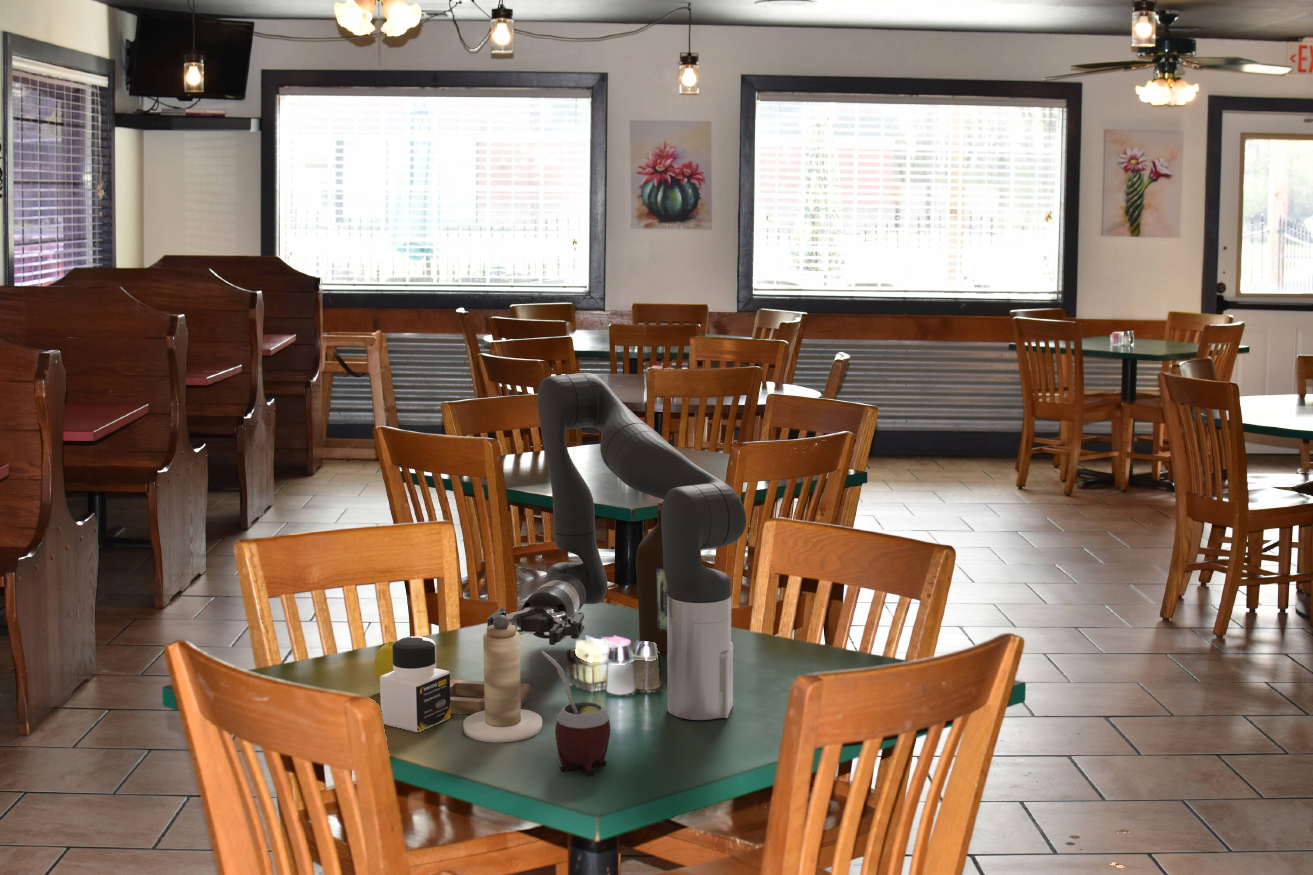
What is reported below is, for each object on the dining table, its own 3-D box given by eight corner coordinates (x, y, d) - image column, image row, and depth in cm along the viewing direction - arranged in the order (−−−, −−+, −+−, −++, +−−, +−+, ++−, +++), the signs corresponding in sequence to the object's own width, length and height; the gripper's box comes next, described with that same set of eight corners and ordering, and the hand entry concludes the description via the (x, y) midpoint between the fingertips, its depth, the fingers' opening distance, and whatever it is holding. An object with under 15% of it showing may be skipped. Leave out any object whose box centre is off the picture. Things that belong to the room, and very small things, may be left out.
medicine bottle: (418, 733, 184) (415, 650, 182) (380, 724, 187) (377, 642, 186) (452, 718, 190) (449, 637, 188) (414, 709, 193) (412, 629, 192)
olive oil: (626, 642, 226) (625, 498, 223) (683, 635, 231) (683, 493, 227) (650, 659, 217) (650, 509, 213) (709, 651, 221) (709, 504, 217)
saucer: (551, 716, 190) (551, 710, 190) (530, 744, 179) (529, 737, 179) (477, 712, 192) (477, 705, 192) (452, 739, 181) (452, 732, 181)
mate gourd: (617, 773, 169) (617, 660, 167) (558, 782, 167) (557, 667, 165) (599, 753, 176) (598, 644, 174) (542, 761, 173) (540, 650, 171)
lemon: (403, 699, 198) (402, 647, 197) (368, 696, 199) (367, 645, 198) (417, 687, 203) (416, 636, 202) (383, 684, 204) (382, 634, 203)
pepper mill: (525, 715, 188) (523, 611, 185) (515, 728, 183) (513, 620, 181) (491, 713, 188) (489, 609, 186) (480, 725, 184) (478, 619, 182)
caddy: (529, 696, 199) (529, 683, 198) (512, 717, 190) (512, 703, 190) (446, 691, 201) (446, 678, 201) (426, 711, 192) (425, 698, 192)
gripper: (508, 583, 211) (476, 610, 196) (595, 587, 209) (570, 614, 193) (509, 628, 212) (477, 659, 197) (595, 633, 210) (570, 664, 194)
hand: (523, 637), depth 195 cm, fingers open, 8 cm apart
